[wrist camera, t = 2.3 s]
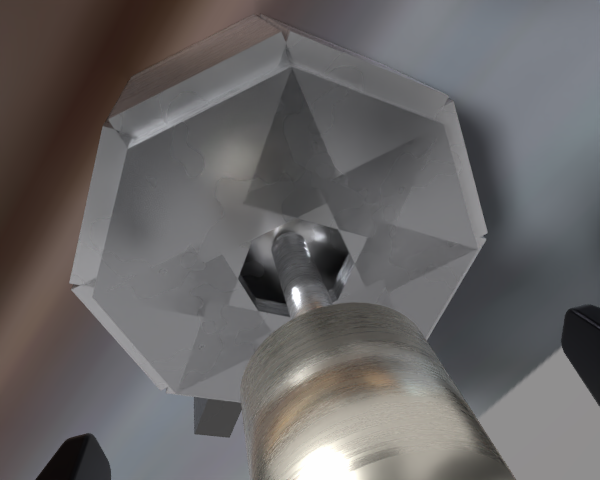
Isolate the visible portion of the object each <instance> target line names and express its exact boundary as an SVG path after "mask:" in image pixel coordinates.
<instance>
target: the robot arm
mask: <svg viewBox="0 0 600 480" xmlns="http://www.w3.org/2000/svg"><path fill="white" fill-rule="evenodd" d="M561 343H562V348H563V351H564V353H565V354H566V356H567V358H568V359H569V361H570V362H571V364H572V365H573V367H574V368H575V370H576V371H577V373H578V374H579V376H580V377H581V379H582V381H583V382H584V383H585V385H586V387H587V388H588V389H589V391H590V393H591V394H592V396H593V397H594V399H595V400H596V402H597V403H598V405H599V406H600V308H599V307H596V306H593V305H589V304H588V305H582V306H578V307H574V308H570V309H569V310H568V311H567V312H566V314H565V319H564V326H563V332H562V338H561ZM36 480H111V469H110V465H109V462H108V459H107V458H106V456H105V454H104V452H103V450H102V449H101V447H100V445H99V443H98V441H97V440H96V438H95V437H94V435H92V434H90V433H87V434H83V435H79V436H75V437H72V438H69V439H67V440H66V441H65V442H64V443H63V444H62V445H61V447H60V448H59V449H58V451H57V452H56V453H55V455H54V456H53V457H52V459H51V460H50V461H49V462H48V464H47V465H46V466H45V468H44V469H43V470H42V472H41V473H40V474H39V476H38V477H37V478H36Z"/></svg>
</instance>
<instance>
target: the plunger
mask: <svg viewBox="0 0 600 480" xmlns="http://www.w3.org/2000/svg"><path fill="white" fill-rule="evenodd" d="M347 255H348V251H347V249H346V247H345V244H344V242H343V240H342V238H341V236H340V233H339V231H338V229H335V228H331V227H327V226H324V225H320V224H316V223H312V222H309V221H305V220H301V219H297V218H295V219H293V220H291V221H289V222H287V223H285V224H283V225H281V226H279V227H277V228H275V229H273V230H271V231H269V232H267V233H265V234H263V235H261V236H259V237H257V238H254V239H253V240H252V243H251V245H250V248H249V251H248V253H247V256H246V259H245V261H244V264H243V267H242V269H241V272H240V274H241V275H242V277H243V279H244V280H245V282H246V283H247V285H248V287H249V288H250V290H251V291H252V293H253V295H254V296H255V298H258V299H263V300H268V301H273V302H278V303H283V304H287V307H288V311H289V314H290V318H291V320H290V321H288V322H287V323H285V324H284V325H282V326H281V327H279V328H278V329H277V330H275V331H274V332H273V333H272V334H271V335H269V336H268V337H267V338H266V339H265V340H264V341H263V342H262V343H261V345H260V346H259V347H258V348H257V349H256V351H255V352H254V354H253V355H252V356H251V358H250V360H249V362H248V364H247V366H246V368H245V370H244V373H243V376H242V381H241V387H240V399H241V407H242V415H243V424H244V432H245V440H246V449H247V457H248V466H249V474H250V480H516V479H515V477H514V475H513V474H512V472H511V471H510V469H509V468H508V466H507V465H506V463H505V461H504V460H503V459H502V457H501V455H500V454H499V452H498V451H497V449H496V448H495V446H494V444H493V443H492V442H491V440H490V438H489V437H488V435H487V434H486V432H485V431H484V429H483V427H482V426H481V424H480V423H479V421H478V420H477V418H476V416H475V415H474V413H473V412H472V410H471V409H470V407H469V406H468V404H467V402H466V401H465V399H464V398H463V396H462V395H461V393H460V392H459V390H458V388H457V387H456V385H455V384H454V382H453V381H452V379H451V378H450V376H449V374H448V373H447V371H446V370H445V368H444V367H443V365H442V364H441V362H440V361H439V359H438V357H437V356H436V354H435V353H434V351H433V350H432V348H431V347H430V345H429V343H428V342H427V340H426V339H425V337H424V336H423V334H422V333H421V331H420V330H419V329H418V327H417V326H416V325H415V324H414V323H413V322H412V321H411V320H410V319H409V318H407V317H406V316H404V315H403V314H401V313H400V312H397V311H395V310H393V309H391V308H388V307H384V306H381V305H377V304H371V303H357V302H351V303H339V304H334V305H333V303H332V301H331V298H330V296H329V294H328V291H327V290H329V289H331V288H332V287H333V285H334V283H335V281H336V278H337V276H338V274H339V272H340V270H341V268H342V266H343V264H344V261H345V259H346V257H347Z"/></svg>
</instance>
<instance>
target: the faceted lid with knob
mask: <svg viewBox="0 0 600 480" xmlns="http://www.w3.org/2000/svg"><path fill="white" fill-rule="evenodd" d="M448 97H449V95H447V94H445V93H443V92H440V91H438V90H436V89H434V88H432V87H430V86H428V85H426V84H424V83H422V82H419V81H417V80H415V79H413V78H411V77H409V76H407V75H405V74H403V73H400V72H398V71H396V70H394V69H392V68H390V67H388V66H386V65H384V64H382V63H379V62H377V61H375V60H372V59H370V58H367V57H365V56H362V55H360V54H357V53H355V52H353V51H350V50H348V49H345V48H343V47H340V46H338V45H336V44H333V43H331V42H328V41H326V40H323V39H321V38H318V37H316V36H314V35H311V34H309V33H306V32H304V31H301V30H299V29H296V28H294V27H292V26H289V25H287V24H284V23H282V22H279V21H277V20H274V19H272V18H270V17H267V16H265V15H262V14H260V17H258V16H256V15H255V14H253V15H251V16H249V17H247V18H245V19H243V20H241V21H240V22H238V23H236V24H234V25H232V26H230V27H228V28H226V29H224V30H222V31H220V32H218V33H216V34H214V35H212V36H210V37H208V38H206V39H204V40H202V41H200V42H198V43H196V44H194V45H192V46H190V47H188V48H187V49H185V50H183V51H181V52H179V53H177V54H175V55H173V56H171V57H169V58H167V59H165V60H163V61H161V62H159V63H157V64H155V65H153V66H151V67H149V68H147V69H145V70H143V71H141V72H139V73H137V74H135V75H133V76H132V77H131V79H130V81H128V82H127V84H126V86H125V88H124V89H123V91H122V93H121V95H120V97H119V98H118V100H117V102H116V104H115V105H114V107H113V109H112V111H111V113H110V114H109V116H108V118H107V120H106V121H105V123H104V125H103V128H102V132H101V137H100V142H99V146H98V151H97V156H96V161H95V165H94V170H93V175H92V179H91V184H90V189H89V193H88V198H87V203H86V208H85V212H84V217H83V222H82V226H81V231H80V236H79V240H78V245H77V250H76V255H75V259H74V264H73V269H72V273H71V278H70V283H71V284H73V287H72V289H71V290H72V291H73V292H74V293H75V294H76V296H77V297H78V298H79V299H80V300H81V301H82V302H83V303H84V305H85V306H86V307H87V308H88V309H89V310H90V311H91V312H92V314H93V315H94V316H95V317H96V318H97V319H98V320H99V321H100V323H101V324H102V325H103V326H104V327H105V328H106V329H107V331H108V332H109V333H110V334H111V335H112V336H113V337H114V338H115V340H116V341H117V342H118V343H119V344H120V345H121V346H122V347H123V349H124V350H125V351H126V352H127V353H128V354H129V355H130V356H131V358H132V359H133V360H134V361H135V362H136V363H137V364H138V366H139V367H140V368H141V369H142V370H143V371H144V372H145V373H146V375H147V376H148V377H149V378H150V379H151V380H152V381H153V382H154V384H155V385H156V386H157V387H158V388H159V389H160V390H163V389H165V388H166V393H168V394H176V395H184V396H192V397H194V434H199V435H209V436H219V437H229V438H230V435H231V433H232V431H233V428H234V426H235V424H236V421H237V419H238V417H239V414H240V412H241V410H242V407H241V399H240V387H241V381H242V376H243V373H244V370H245V368H246V366H247V364H248V362H249V360H250V358H251V356H252V355H253V354H254V352H255V351H256V349H257V348H258V347H259V346H260V345H261V343H262V342H263V341H264V340H265V339H266V338H267V337H268V336H269V335H271V334H272V333H273V332H274V331H275V330H277V329H278V328H279V327H281V326H282V325H284V324H285V323H287V322H288V321H290V320H291V318H290V314H289V311H288V307H287V304H283V303H278V302H273V301H268V300H263V299H258V298H255V296H254V295H253V293H252V291H251V290H250V288H249V287H248V285H247V283H246V282H245V280H244V279H243V277H242V275H241V274H240V272H241V269H242V267H243V264H244V261H245V259H246V256H247V253H248V251H249V248H250V245H251V243H252V240H253V239H254V238H257V237H259V236H261V235H263V234H265V233H267V232H269V231H271V230H273V229H275V228H277V227H279V226H281V225H283V224H285V223H287V222H289V221H291V220H293V219H295V218H297V219H301V220H305V221H309V222H312V223H316V224H320V225H324V226H327V227H331V228H335V229H338V231H339V233H340V236H341V238H342V240H343V242H344V244H345V247H346V249H347V251H348V255H347V257H346V259H345V261H344V264H343V266H342V268H341V270H340V272H339V274H338V276H337V278H336V281H335V283H334V285H333V287H332V288H331V289H329V290H327V291H328V294H329V296H330V298H331V301H332V303H333V305H334V304H339V303H351V302H357V303H371V304H377V305H381V306H384V307H388V308H391V309H393V310H395V311H397V312H400V313H401V314H403V315H404V316H406V317H407V318H409V319H410V320H411V321H412V322H413V323H414V324H415V325H416V326H417V327H418V329H419V330H420V331H421V333H422V334H423V336H424V337H425V339H426V340H427V339H428V338H429V336H430V334H431V333H432V331H433V329H434V328H435V326H436V324H437V322H438V321H439V319H440V317H441V316H442V314H443V312H444V311H445V309H446V307H447V306H448V304H449V302H450V300H451V299H452V297H453V295H454V294H455V292H456V290H457V289H458V287H459V285H460V284H461V282H462V280H463V278H464V277H465V275H466V273H467V272H468V270H469V268H470V267H471V265H472V263H473V262H474V260H475V258H476V256H477V255H478V253H479V251H480V250H481V248H482V246H483V245H484V243H485V241H486V240H487V239H486V238H485V237H484V236H483V235H485V234H487V233H488V232H487V228H486V224H485V220H484V217H483V213H482V209H481V205H480V201H479V197H478V193H477V189H476V186H475V182H474V178H473V174H472V170H471V166H470V162H469V158H468V155H467V151H466V147H465V143H464V139H463V135H462V131H461V127H460V124H459V120H458V116H457V112H456V108H455V104H454V101H453V100H451V99H449V98H448Z"/></svg>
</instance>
